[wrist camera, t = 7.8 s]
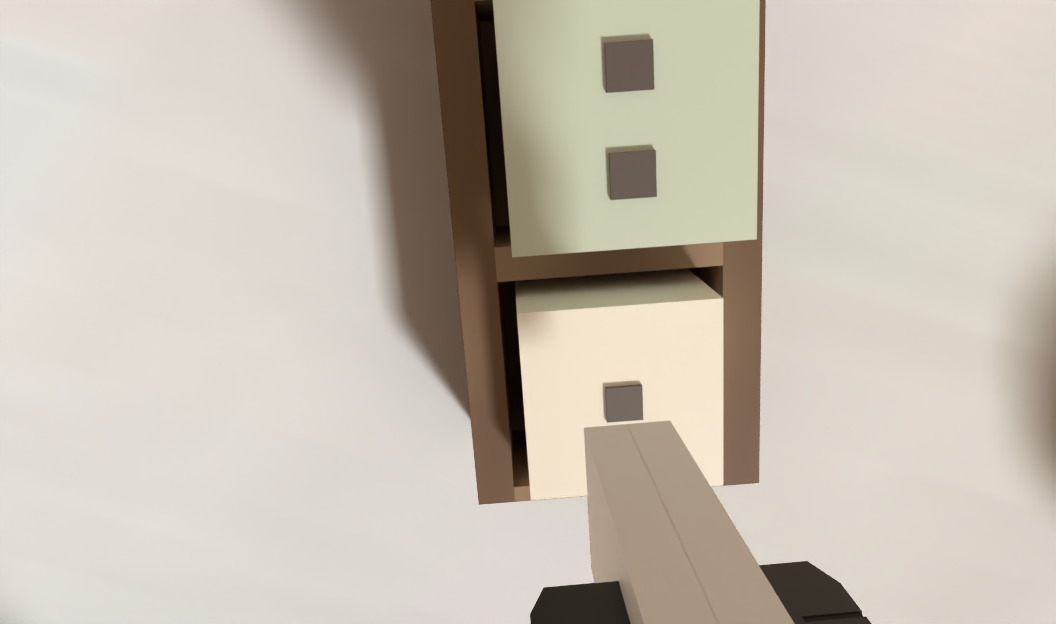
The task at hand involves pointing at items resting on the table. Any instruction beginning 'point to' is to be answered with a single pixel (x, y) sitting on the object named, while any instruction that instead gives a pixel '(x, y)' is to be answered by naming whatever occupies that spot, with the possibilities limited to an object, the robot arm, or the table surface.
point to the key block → (561, 266)
